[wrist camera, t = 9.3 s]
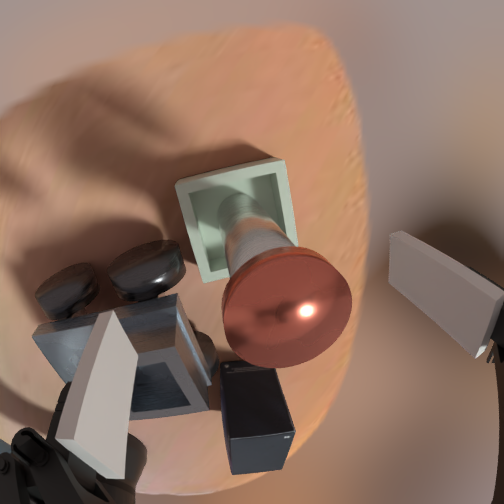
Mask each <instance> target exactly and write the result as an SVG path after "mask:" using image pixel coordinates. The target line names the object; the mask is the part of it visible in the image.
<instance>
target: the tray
mask: <svg viewBox="0 0 504 504" xmlns="http://www.w3.org/2000/svg"><path fill="white" fill-rule="evenodd" d="M175 189H176V193H177V196H178V200H179V204H180V207H181V211H182V214H183V218H184V221H185V225H186V228H187V232H188V235H189V238H190V242H191V245H192V248H193V252H194V255H195V258H196V261H197V264H198V268H199V271H200V274H201V277H202V280H203V283H208V282H212V281H216V280H219V279H223V278H227V277H230V276H229V271H228V267H227V262H226V258H225V253H224V248H223V244H222V239H221V234H220V229H219V224H218V220H217V212H218V208H219V206H220V204H221V203H222V201H223V200H224V199H226V198H227V197H228V196H230V195H233V194H237V193H242V194H247V195H249V196H251V197H253V198H254V199H255V200H256V201H257V202H258V203H259V204H260V205H261V207H262V208H263V209H264V210H265V211H266V212H267V213H268V215H269V216H270V217H271V218H272V219H273V220H274V222H275V223H276V224H277V225H278V226H279V227H280V229H281V230H282V231H283V232H284V233H285V234H286V236H287V237H288V238H289V239H290V240H291V241H292V243H293V244H294V245H295V246H296V247H298V240H297V233H296V227H295V220H294V213H293V207H292V201H291V194H290V188H289V182H288V177H287V171H286V165H285V160H283V159H280V158H276V157H272V158H267V159H262V160H257V161H252V162H248V163H243V164H239V165H234V166H230V167H226V168H221V169H217V170H213V171H209V172H205V173H201V174H197V175H194V176H190V177H186V178H182V179H179V180H178V181H177V182H176V184H175Z"/></svg>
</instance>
